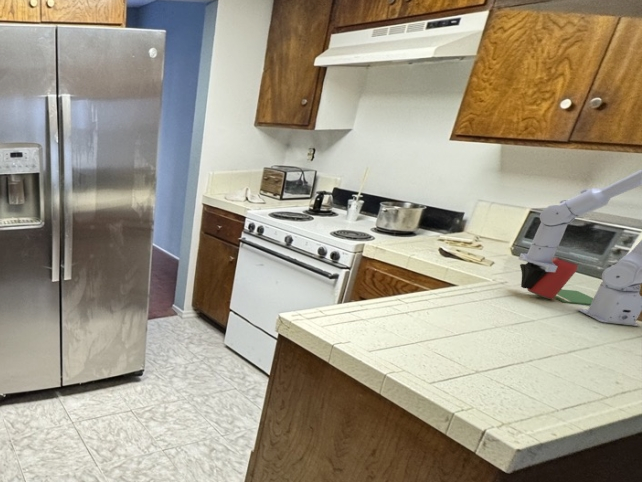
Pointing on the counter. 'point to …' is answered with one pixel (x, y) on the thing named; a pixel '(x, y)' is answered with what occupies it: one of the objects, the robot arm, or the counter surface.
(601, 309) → the robot arm
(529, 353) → the counter surface
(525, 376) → the counter surface
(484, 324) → the counter surface
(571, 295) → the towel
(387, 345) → the counter surface
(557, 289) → the beer can
